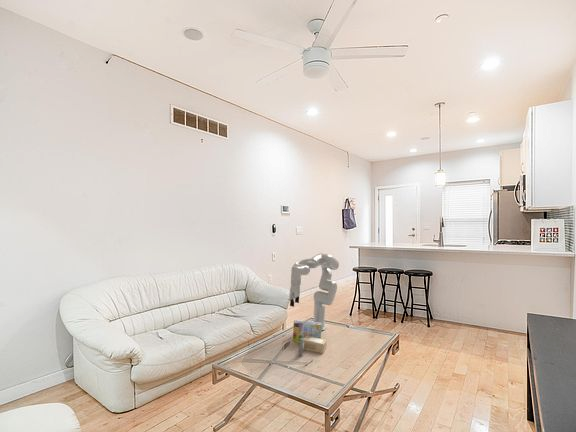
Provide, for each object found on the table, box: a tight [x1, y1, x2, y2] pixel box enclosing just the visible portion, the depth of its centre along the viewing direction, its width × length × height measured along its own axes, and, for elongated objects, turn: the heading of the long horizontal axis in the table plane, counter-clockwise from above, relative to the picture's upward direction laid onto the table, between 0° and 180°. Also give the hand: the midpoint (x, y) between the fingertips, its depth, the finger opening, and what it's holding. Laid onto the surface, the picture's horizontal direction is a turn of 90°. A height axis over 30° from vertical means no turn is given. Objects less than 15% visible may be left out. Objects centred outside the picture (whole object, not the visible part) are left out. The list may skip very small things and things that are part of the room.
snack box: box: [292, 320, 322, 343], centre depth 242 cm, size 21×6×15 cm, turn 84°
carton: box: [303, 336, 328, 354], centre depth 231 cm, size 8×16×7 cm, turn 67°
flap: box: [298, 338, 305, 357], centre depth 224 cm, size 12×3×12 cm, turn 174°
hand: (294, 304), depth 241 cm, fingers open, 9 cm apart
